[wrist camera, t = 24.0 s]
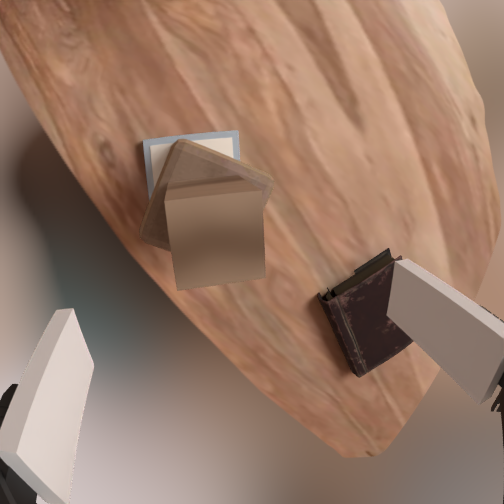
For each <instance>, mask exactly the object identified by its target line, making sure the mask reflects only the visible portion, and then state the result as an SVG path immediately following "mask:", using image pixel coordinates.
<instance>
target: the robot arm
mask: <svg viewBox="0 0 504 504" xmlns="http://www.w3.org/2000/svg"><path fill="white" fill-rule="evenodd" d="M387 316H388V317H389V318H390V319H391V320H392V321H393V322H394V323H395V324H396V325H398V326H399V327H400V328H401V329H402V330H403V331H404V332H405V333H406V334H407V335H408V336H409V337H410V338H411V339H412V340H413V341H414V342H415V343H417V344H418V345H419V346H420V347H421V348H422V349H423V350H424V351H425V352H426V353H427V354H428V355H429V356H430V357H431V358H432V359H433V360H434V361H435V362H436V363H437V364H438V365H439V366H440V367H441V368H442V369H443V370H444V371H445V372H446V373H447V374H448V375H449V376H450V377H451V378H452V379H453V380H454V381H455V382H456V383H457V384H458V385H459V386H460V387H461V388H462V389H464V391H465V392H466V393H467V394H468V395H469V396H470V397H471V398H472V399H473V400H474V401H475V402H476V403H477V404H478V405H480V404H482V403H483V402H484V401H486V400H487V399H489V398H490V397H491V396H492V394H493V393H494V391H495V389H496V387H497V385H500V386H501V387H502V389H501V391H500V393H499V395H498V396H497V398H496V400H495V402H494V403H493V405H492V407H491V411H494V409H495V407H496V406H497V404H499V403H500V406H499V407H498V409H497V412H501V418H502V430H503V446H504V322H503V321H502V320H501V319H500V320H499V318H498V317H497V316H495V315H494V314H491V312H490V311H488V310H487V309H485V308H484V307H482V306H480V305H478V304H476V303H475V302H473V301H472V300H470V299H469V298H468V297H466V296H465V295H463V294H462V293H460V292H459V291H457V290H456V289H454V288H453V287H451V286H450V285H448V284H447V283H445V282H444V281H442V280H440V279H439V278H437V277H436V276H434V275H433V274H431V273H430V272H428V271H426V270H425V269H423V268H422V267H420V266H419V265H417V264H415V263H414V262H412V261H411V260H409V259H405V260H399V261H395V265H394V272H393V279H392V286H391V292H390V299H389V305H388V310H387ZM93 369H94V363H93V360H92V358H91V356H90V353H89V350H88V348H87V345H86V343H85V340H84V337H83V335H82V332H81V329H80V326H79V324H78V321H77V318H76V315H75V312H74V309H73V308H71V309H61V310H56V312H55V313H54V315H53V317H52V319H51V320H50V322H49V324H48V326H47V328H46V330H45V331H44V333H43V335H42V337H41V339H40V341H39V343H38V345H37V347H36V349H35V351H34V353H33V355H32V357H31V359H30V361H29V363H28V365H27V367H26V369H25V371H24V373H23V376H22V378H21V380H20V382H19V384H12V385H11V386H10V387H9V388H8V389H7V390H6V392H5V393H4V394H3V395H2V398H1V400H0V504H37V503H36V498H37V494H38V495H39V496H40V497H41V498H42V499H43V500H44V501H45V502H47V503H50V504H69V503H70V493H71V484H72V476H73V469H74V462H75V456H76V449H77V444H78V438H79V432H80V427H81V422H82V417H83V412H84V407H85V402H86V398H87V393H88V389H89V385H90V380H91V377H92V373H93ZM503 499H504V497H503ZM503 504H504V500H503Z"/></svg>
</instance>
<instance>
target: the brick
mask: <svg viewBox="0 0 504 504" xmlns="http://www.w3.org/2000/svg"><path fill="white" fill-rule="evenodd" d="M164 203H165V211H166V219H167V226H168V233H169V241H170V247H171V254H172V261H173V267H174V273H175V279H176V285H177V291H179V290H186V289H194V288H201V287H208V286H215V285H222V284H229V283H236V282H243V281H250V280H257V279H263V278H266V273H265V247H264V224H263V201H262V190H261V189H259V188H258V187H256V186H255V185H253V184H251V183H250V182H248V181H247V180H245V179H244V178H242V177H241V176H239V175H233V176H223V177H213V178H203V179H194V180H186V181H177V182H169V183H168V186H167V191H166V195H165V200H164Z"/></svg>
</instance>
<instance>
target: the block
mask: <svg viewBox="0 0 504 504" xmlns="http://www.w3.org/2000/svg"><path fill="white" fill-rule="evenodd" d="M233 175H239V176H241V177H242V178H244V179H245V180H247V181H248V182H250V183H251V184H253V185H255V186H256V187H258V188H259V189H261V190H262V201H263V210H264V208H265V206H266V204H267V202H268V199H269V197H270V195H271V193H272V191H273V188H274V179H273V178H272V177H271V176H270V175H269V174H268V173H266V172H263V171H261V170H259V169H257V168H255V167H252V166H250V165H248V164H245V163H243V162H241V161H239V160H236V159H234V158H232V157H229V156H227V155H224V154H222V153H220V152H217V151H215V150H212V149H210V148H208V147H205V146H203V145H200V144H198V143H195V142H193V141H190V140H188V139H178V140H177V141H176V142H175V143H174V144H173V145H172V146H171V148H170V151H169V153H168V155H167V158H166V160H165V163H164V165H163V167H162V170H161V172H160V175H159V177H158V180H157V183H156V185H155V188H154V190H153V193H152V196H151V198H150V201H149V204H148V206H147V209H146V212H145V215H144V218H143V220H142V223H141V226H140V229H139V232H140V238H141V239H142V240H143V241H144V242H145V243H147V244H150V245H153V246H156V247H159V248H161V249H164V250H167V251H170V252H171V247H170V241H169V233H168V226H167V219H166V211H165V203H164V200H165V195H166V191H167V186H168V183H169V182H177V181H186V180H194V179H203V178H213V177H223V176H233Z"/></svg>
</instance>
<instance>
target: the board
mask: <svg viewBox="0 0 504 504" xmlns="http://www.w3.org/2000/svg"><path fill="white" fill-rule="evenodd" d="M178 139H188V140H190V141H193V142H195V143H198V144H200V145H203V146H205V147H208V148H210V149H212V150H215V151H217V152H220V153H222V154H224V155H227V156H229V157H232V158H234V159H236V160H239V161H240V151H239V133H238V130H237V131H222V132H209V133H198V134H188V135H179V136H170V137H162V138H154V139H147V140H143V147H144V158H145V167H146V177H147V186H148V194H149V201H150V198H151V196H152V193H153V190H154V188H155V185H156V183H157V180H158V177H159V175H160V172H161V170H162V167H163V165H164V163H165V160H166V158H167V155H168V153H169V151H170V148H171V146H172V145H173V144H174V143H175V142H176V141H177V140H178Z"/></svg>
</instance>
